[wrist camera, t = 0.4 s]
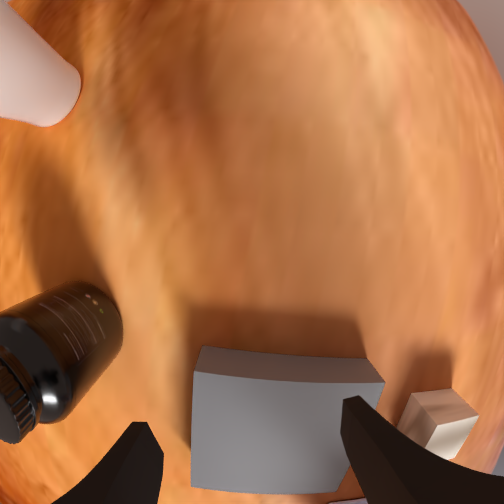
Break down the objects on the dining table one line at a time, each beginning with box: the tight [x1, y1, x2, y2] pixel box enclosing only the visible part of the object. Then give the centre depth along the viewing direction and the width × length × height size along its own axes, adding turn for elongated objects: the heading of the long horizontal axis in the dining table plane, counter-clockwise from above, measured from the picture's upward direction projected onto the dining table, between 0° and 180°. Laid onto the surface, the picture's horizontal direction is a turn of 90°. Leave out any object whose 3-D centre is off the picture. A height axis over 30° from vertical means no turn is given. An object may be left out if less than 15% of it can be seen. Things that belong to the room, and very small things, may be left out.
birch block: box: [396, 388, 479, 460], centre depth 19 cm, size 5×5×5 cm
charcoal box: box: [191, 345, 385, 494], centre depth 19 cm, size 12×12×4 cm
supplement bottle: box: [0, 281, 123, 444], centre depth 14 cm, size 7×7×12 cm
